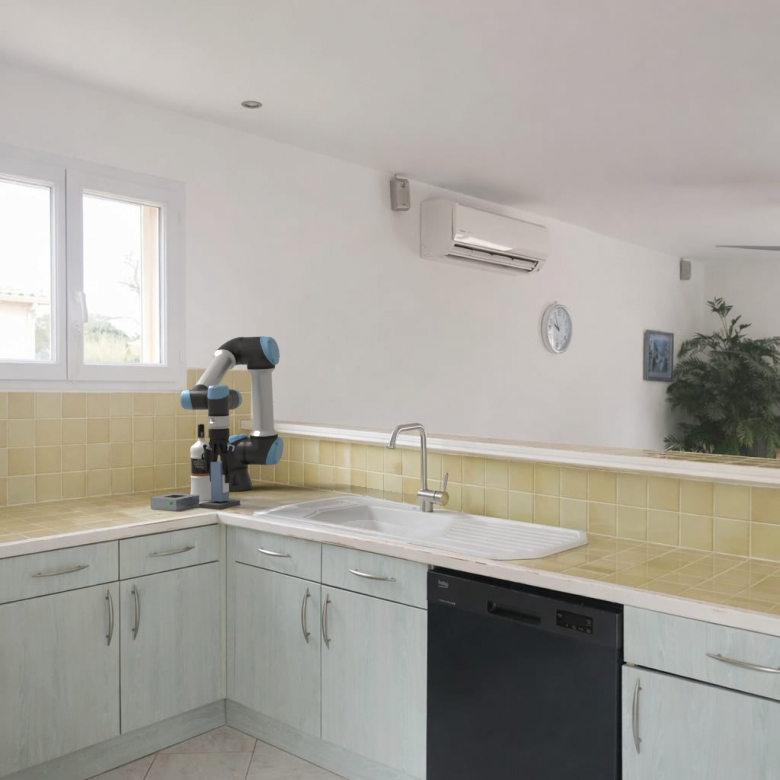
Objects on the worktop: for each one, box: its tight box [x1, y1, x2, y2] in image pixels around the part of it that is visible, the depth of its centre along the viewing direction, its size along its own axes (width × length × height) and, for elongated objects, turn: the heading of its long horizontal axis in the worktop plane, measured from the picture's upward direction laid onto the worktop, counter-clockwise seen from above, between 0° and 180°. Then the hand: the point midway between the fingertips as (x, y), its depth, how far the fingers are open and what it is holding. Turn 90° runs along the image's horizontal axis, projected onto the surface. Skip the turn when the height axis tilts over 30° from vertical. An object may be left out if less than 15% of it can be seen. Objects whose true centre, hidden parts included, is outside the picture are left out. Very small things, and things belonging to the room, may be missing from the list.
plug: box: [210, 460, 230, 502], centre depth 293 cm, size 4×4×14 cm
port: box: [150, 492, 200, 512], centre depth 291 cm, size 13×12×5 cm
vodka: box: [189, 423, 211, 502], centre depth 309 cm, size 9×9×30 cm
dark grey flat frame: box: [198, 499, 241, 511], centre depth 293 cm, size 12×9×2 cm
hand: (220, 491), depth 293 cm, fingers closed on plug, 4 cm apart
